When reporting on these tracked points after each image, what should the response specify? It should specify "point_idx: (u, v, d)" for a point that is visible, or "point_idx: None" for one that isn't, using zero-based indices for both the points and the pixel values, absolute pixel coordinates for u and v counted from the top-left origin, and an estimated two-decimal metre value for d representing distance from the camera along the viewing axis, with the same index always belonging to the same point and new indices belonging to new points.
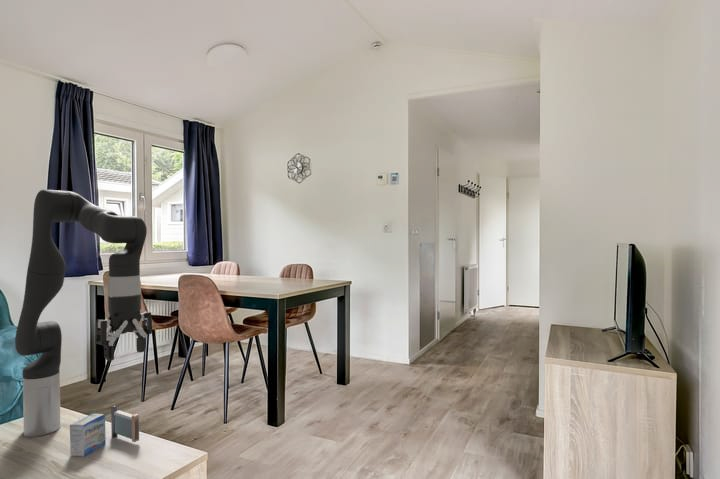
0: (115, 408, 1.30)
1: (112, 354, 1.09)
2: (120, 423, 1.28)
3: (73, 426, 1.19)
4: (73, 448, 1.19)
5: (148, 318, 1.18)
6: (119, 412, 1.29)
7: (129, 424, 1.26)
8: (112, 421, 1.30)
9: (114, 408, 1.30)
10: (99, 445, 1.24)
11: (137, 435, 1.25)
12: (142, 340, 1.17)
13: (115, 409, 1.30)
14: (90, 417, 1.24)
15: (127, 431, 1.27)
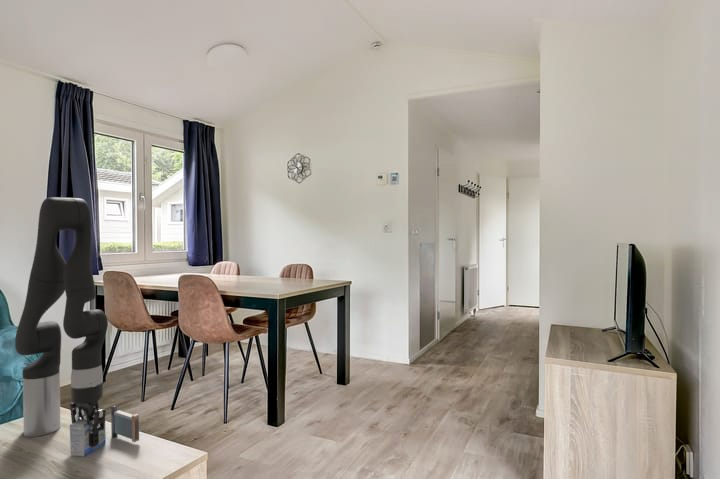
0: (115, 408, 1.30)
1: None
2: (120, 423, 1.28)
3: (72, 426, 1.19)
4: (73, 448, 1.19)
5: None
6: (119, 412, 1.29)
7: (129, 424, 1.26)
8: (112, 421, 1.30)
9: (114, 408, 1.30)
10: (99, 445, 1.24)
11: (137, 435, 1.25)
12: None
13: (115, 409, 1.30)
14: None
15: (127, 431, 1.27)
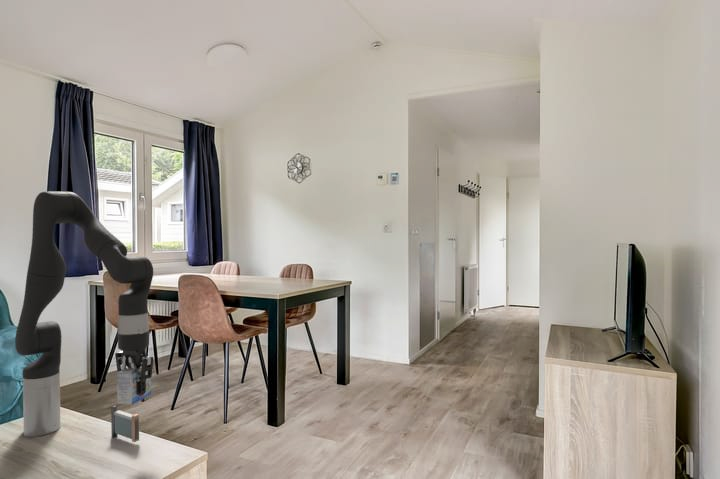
0: (115, 408, 1.30)
1: None
2: (120, 423, 1.28)
3: (120, 373, 1.16)
4: (121, 396, 1.16)
5: None
6: (119, 412, 1.29)
7: (129, 424, 1.26)
8: (112, 421, 1.30)
9: (114, 408, 1.30)
10: (145, 395, 1.21)
11: (137, 435, 1.25)
12: None
13: (115, 409, 1.30)
14: None
15: (127, 431, 1.27)
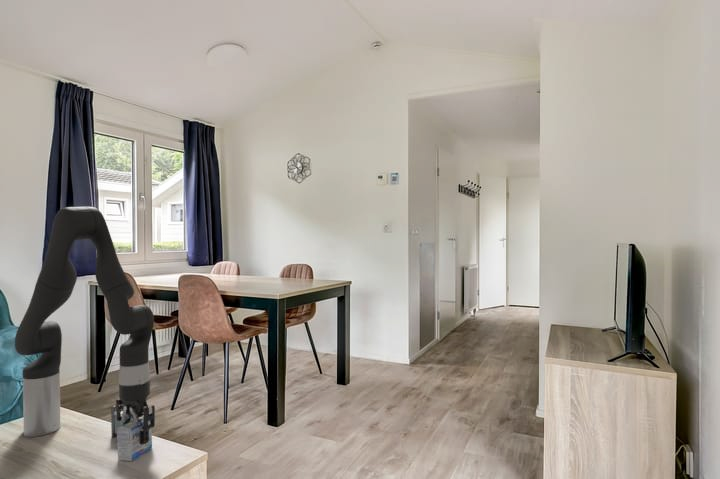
0: (115, 408, 1.30)
1: None
2: (120, 423, 1.28)
3: (120, 429, 1.16)
4: (121, 452, 1.16)
5: None
6: None
7: None
8: (112, 421, 1.30)
9: (114, 408, 1.30)
10: (146, 449, 1.21)
11: None
12: None
13: (115, 409, 1.30)
14: None
15: None
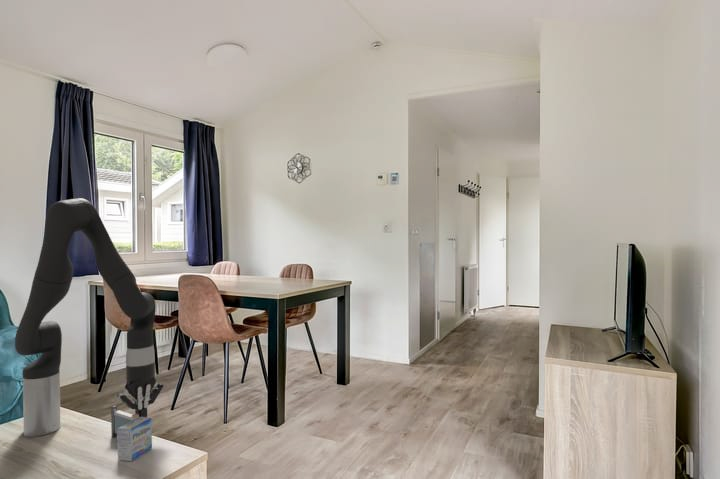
0: (115, 408, 1.30)
1: None
2: (120, 423, 1.28)
3: (120, 429, 1.16)
4: (121, 452, 1.16)
5: None
6: (119, 412, 1.29)
7: None
8: (112, 421, 1.30)
9: (114, 408, 1.30)
10: (146, 449, 1.21)
11: None
12: None
13: (115, 409, 1.30)
14: (137, 420, 1.21)
15: None
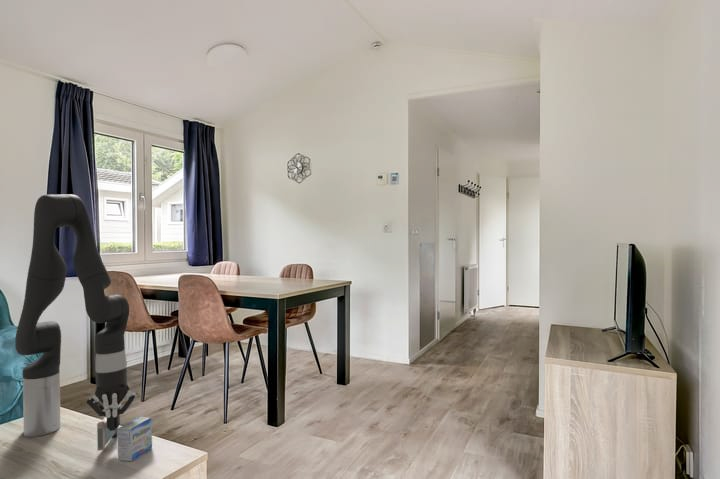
0: None
1: None
2: None
3: (120, 429, 1.16)
4: (121, 452, 1.16)
5: None
6: None
7: None
8: None
9: None
10: (146, 449, 1.21)
11: (101, 444, 1.20)
12: None
13: None
14: (137, 421, 1.21)
15: None
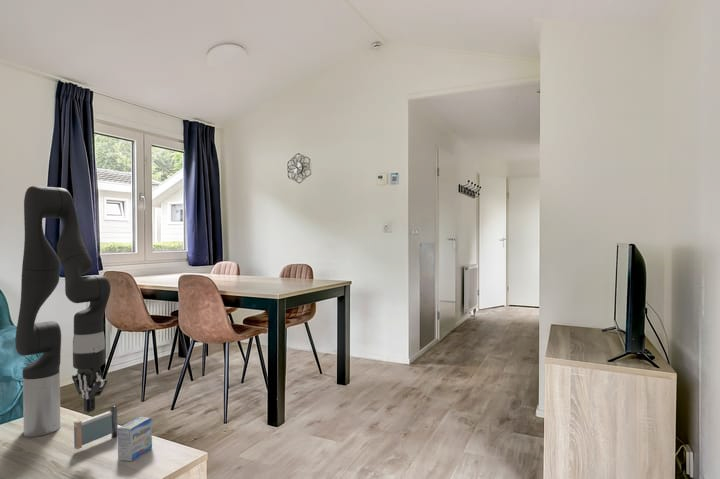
0: (115, 408, 1.30)
1: None
2: None
3: (120, 429, 1.16)
4: (121, 452, 1.16)
5: None
6: (104, 413, 1.28)
7: None
8: (112, 421, 1.30)
9: (114, 408, 1.30)
10: (146, 449, 1.21)
11: (76, 443, 1.21)
12: None
13: (115, 409, 1.30)
14: (137, 420, 1.21)
15: None
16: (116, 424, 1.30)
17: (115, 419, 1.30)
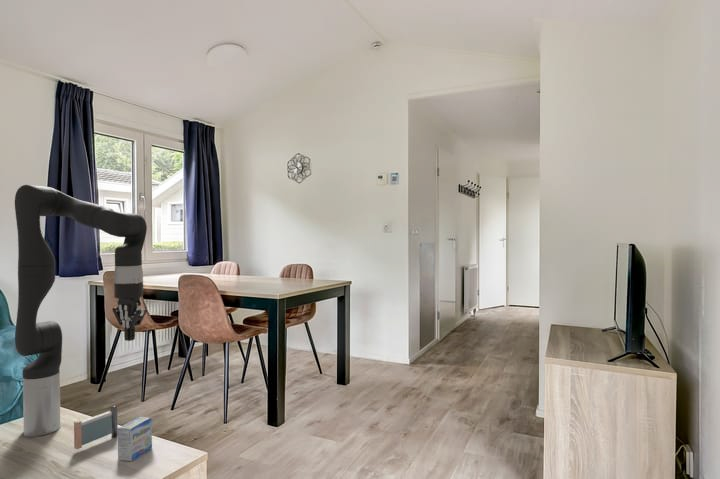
0: (115, 408, 1.30)
1: None
2: None
3: (120, 429, 1.16)
4: (121, 452, 1.16)
5: None
6: (104, 413, 1.28)
7: None
8: (112, 421, 1.30)
9: (114, 408, 1.30)
10: (146, 449, 1.21)
11: (76, 443, 1.21)
12: None
13: (115, 409, 1.30)
14: (137, 421, 1.21)
15: None
16: (116, 424, 1.30)
17: (115, 419, 1.30)
